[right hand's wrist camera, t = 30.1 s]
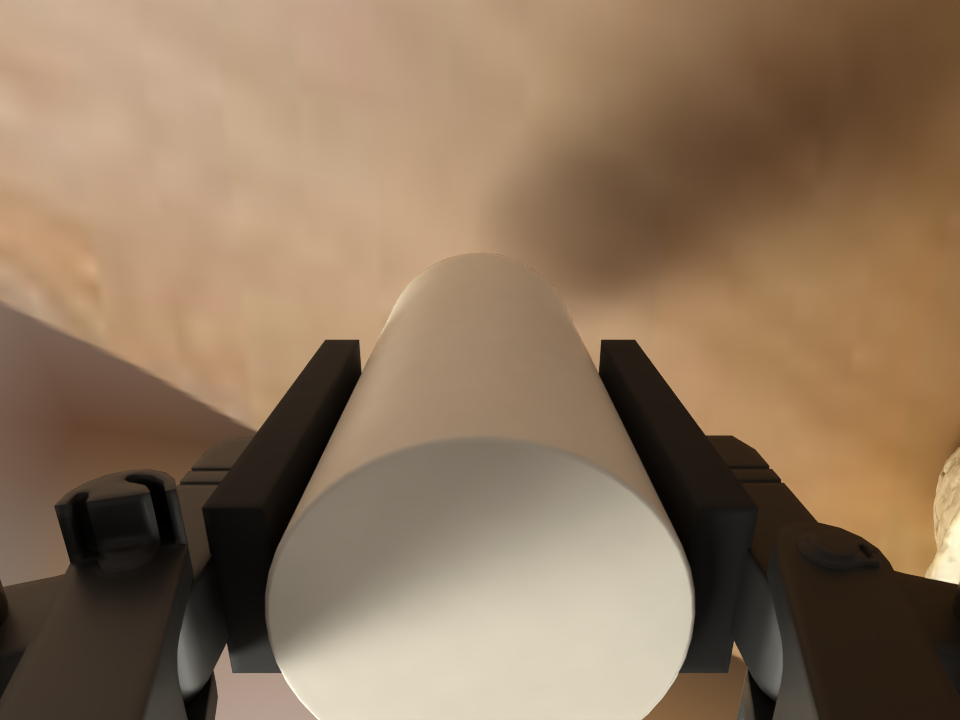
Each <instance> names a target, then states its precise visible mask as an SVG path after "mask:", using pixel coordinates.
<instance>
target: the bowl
mask: <svg viewBox="0 0 960 720" xmlns="http://www.w3.org/2000/svg"><path fill="white" fill-rule="evenodd" d="M933 511H934V514H933V518H934V528H935V531H934V534H935V538H936V543H937V553H936V555H935V558H934V560H933V562H932V563H931V564H930V566H929V568H928V569H927V571H926V574H925V578H929V579H934V580H939V581H944V582H949V583H954V584H959V582H960V447H959V448H958V449H957V450H956V451H955V452H954V453H953V454H952V455H951V456H950V457H949V459H948V460H947V461H946V463H945V465H944V469H943V470H942V471H941V473H940V476H939V481H938V484H937V489H936V497H935V501H934V507H933Z"/></svg>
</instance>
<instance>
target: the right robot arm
mask: <svg viewBox="0 0 960 720" xmlns="http://www.w3.org/2000/svg"><path fill="white" fill-rule="evenodd" d="M361 374H362V373H361V360H360V346H359V340H325V341H324V342H323V344H322V345H321V347H320V348H319V349H318V351H317V352H316V353H315V355H314V356H313V357H312V359H311V360H310V361H309V363H308V364H307V366H306V367H305V368H304V370H303V371H302V372H301V374H300V375H299V376H298V378H297V379H296V380H295V382H294V383H293V385H292V386H291V387H290V389H289V390H288V391H287V393H286V394H285V395H284V397H283V398H282V399H281V401H280V402H279V404H278V405H277V406H276V408H275V409H274V410H273V412H272V413H271V414H270V416H269V417H268V418H267V420H266V421H265V423H264V424H263V425H262V427H261V428H260V429H259V431H258V432H257V433H256V435H255V436H254V438H227V439H226V440H224V441H222V442H221V443H219V444H217V445H216V446H214V447H213V448H211V449H209V450H207V451H206V452H205V453H204V454H203V455H202V457H201V458H200V459H199V460H198V461H197V462H196V464H195V465H194V466H193V467H192V471H189V472H188V473H187V474H186V475H185V476H184V478H183V479H182V480H181V481H180V485H177V486H176V483H175V479H174V478H172V477H171V476H170V475H168V474H167V473H166V472H161V471H156V470H151V469H146V470H128V471H123V472H118V473H113V474H109V475H105V476H102V477H100V478H97V479H94V480H92V481H89V482H86V483H84V484H82V485H81V486H79V487H77V488H75V489H74V490H72V491H70V492H69V493H67V494H66V495H65V496H64V497H63V498H62V499H61V500H60V501H59V502H58V503H57V504H56V505H55V506H54V507H55V510H56V514H57V517H58V521H59V524H60V528H61V531H62V535H63V538H64V542H65V545H66V549H67V552H68V556H69V559H70V565H69V567H68V569H67V571H66V573H65V574H63V575H59V576H56V577H50V578H46V579H41V580H35V581H30V582H25V583H21V584H16V585H11V586H6V587H3V586H2V583H1V580H0V720H215V714H216V706H217V699H218V695H217V687H216V681H215V676H214V671H213V669H214V667H215V665H216V663H217V661H218V659H219V657H220V655H221V653H222V651H223V649H224V647H225V645H226V643H227V646H228V651H229V657H230V661H231V667H232V672H233V673H282V672H281V670H280V668H279V666H278V664H277V663H276V660H275V657H274V654H273V651H272V648H271V645H270V642H269V637H268V631H267V625H266V619H265V592H266V586H267V580H268V574H269V570H270V567H271V564H272V561H273V558H274V555H275V552H276V549H277V547H278V545H279V543H280V541H281V539H282V537H283V535H284V533H285V531H286V529H287V526H288V524H289V522H290V520H291V518H292V516H293V514H294V512H295V510H296V508H297V506H298V504H299V502H300V500H301V498H302V496H303V493H304V491H305V489H306V487H307V485H308V483H309V481H310V479H311V477H312V475H313V473H314V471H315V469H316V467H317V465H318V463H319V460H320V458H321V456H322V454H323V452H324V450H325V448H326V446H327V444H328V442H329V440H330V438H331V436H332V434H333V432H334V430H335V427H336V425H337V423H338V421H339V419H340V417H341V415H342V413H343V411H344V409H345V407H346V405H347V403H348V401H349V399H350V397H351V394H352V392H353V390H354V388H355V386H356V384H357V382H358V380H359V378H360V376H361ZM599 376H600V378H601V380H602V382H603V384H604V386H605V388H606V390H607V392H608V394H609V396H610V398H611V400H612V402H613V404H614V406H615V409H616V411H617V413H618V415H619V417H620V419H621V421H622V423H623V425H624V427H625V429H626V431H627V433H628V435H629V437H630V439H631V441H632V443H633V445H634V448H635V450H636V452H637V454H638V456H639V458H640V460H641V462H642V464H643V466H644V468H645V470H646V472H647V474H648V476H649V478H650V480H651V482H652V484H653V486H654V489H655V491H656V493H657V495H658V497H659V499H660V501H661V503H662V505H663V507H664V509H665V511H666V513H667V515H668V517H669V519H670V521H671V523H672V525H673V528H674V530H675V532H676V534H677V536H678V538H679V540H680V542H681V544H682V546H683V549H684V552H685V554H686V557H687V560H688V562H689V565H690V568H691V573H692V578H693V583H694V588H695V619H694V626H693V633H692V639H691V642H690V645H689V649H688V652H687V655H686V658H685V660H684V663H683V665H682V667H681V669H680V671H679V673H728V670H729V664H730V659H731V654H732V648H733V643H734V641H735V643H736V645H737V647H738V649H739V651H740V653H741V655H742V657H743V659H744V661H745V663H746V665H747V671H746V676H745V681H744V686H743V691H742V696H741V701H740V706H739V710H738V715H737V720H960V582H959V584H954V583H949V582H944V581H939V580H934V579H929V578H924V577H919V576H914V575H909V574H905V573H901V572H897V571H894V570H893V568H892V566H891V564H890V562H889V561H888V560H887V559H886V557H885V556H884V555H883V554H882V553H881V551H880V550H879V549H878V548H876V547H875V546H874V545H872V544H871V543H869V542H868V541H866V540H865V539H863V538H862V537H860V536H858V535H855V534H853V533H851V532H849V531H846V530H844V529H842V528H839V527H835V526H830V525H826V524H822V523H818V522H817V521H816V520H815V518H814V517H813V516H812V515H811V514H810V513H809V511H808V510H807V509H806V508H805V507H804V506H803V504H802V503H801V502H800V501H799V500H798V499H797V498H796V496H795V495H794V494H793V493H792V492H791V491H790V489H789V488H788V487H787V486H786V485H785V484H784V483H781V479H780V478H779V477H778V475H777V474H776V473H775V472H774V471H773V470H772V469H769V465H768V464H767V463H766V461H765V460H764V459H763V458H762V457H761V456H760V455H759V453H758V452H757V451H756V450H755V449H753V448H752V447H750V446H748V445H747V444H745V443H743V442H742V441H740V440H738V439H737V438H735V437H733V436H705V434H704V433H703V431H702V430H701V429H700V427H699V426H698V425H697V423H696V422H695V421H694V419H693V418H692V417H691V415H690V414H689V412H688V411H687V410H686V408H685V407H684V406H683V404H682V403H681V402H680V400H679V399H678V398H677V396H676V395H675V394H674V392H673V391H672V389H671V388H670V387H669V385H668V384H667V383H666V381H665V380H664V379H663V377H662V376H661V375H660V373H659V372H658V370H657V369H656V368H655V366H654V365H653V364H652V362H651V361H650V360H649V358H648V357H647V356H646V354H645V353H644V351H643V350H642V349H641V347H640V346H639V345H638V343H637V342H636V341H635V340H601V351H600V365H599Z"/></svg>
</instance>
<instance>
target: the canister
mask: <svg viewBox="0 0 960 720" xmlns="http://www.w3.org/2000/svg"><path fill="white" fill-rule="evenodd" d="M265 619H266V625H267V631H268V637H269V642H270V645H271V648H272V651H273V654H274V657H275V660H276V663H277V664H278V666H279V668H280V670H281V672H282V674H283V676H284V678H285V680H286V682H287V683H288V685H289V686H290V687H291V689H292V690H293V692H294V693H295V694H296V696H297V697H298V699H299V700H300V701H301V702H302V703H303V704H304V705H305V706H306V707H307V709H308V710H309V711H310V712H311V713H312V714H313V715H314V716H315V717H316V718H317V719H318V720H642V719H643V718H644V717H645V716H646V715H647V714H648V713H649V712H650V711H651V710H652V709H653V708H654V707H655V706H656V704H657V703H658V702H659V701H660V700H661V699H662V698H663V696H664V695H665V694H666V692H667V691H668V689H669V688H670V686H671V685H672V683H673V682H674V680H675V679H676V677H677V675H678V673H679V671H680V669H681V667H682V665H683V663H684V660H685V658H686V655H687V652H688V649H689V645H690V642H691V639H692V633H693V626H694V619H695V588H694V583H693V578H692V573H691V568H690V565H689V562H688V560H687V557H686V554H685V552H684V549H683V546H682V544H681V542H680V540H679V538H678V536H677V534H676V532H675V530H674V528H673V525H672V523H671V521H670V519H669V517H668V515H667V513H666V511H665V509H664V507H663V505H662V503H661V501H660V499H659V497H658V495H657V493H656V491H655V489H654V486H653V484H652V482H651V480H650V478H649V476H648V474H647V472H646V470H645V468H644V466H643V464H642V462H641V460H640V458H639V456H638V454H637V452H636V450H635V448H634V445H633V443H632V441H631V439H630V437H629V435H628V433H627V431H626V429H625V427H624V425H623V423H622V421H621V419H620V417H619V415H618V413H617V411H616V409H615V406H614V404H613V402H612V400H611V398H610V396H609V394H608V392H607V390H606V388H605V386H604V384H603V382H602V380H601V378H600V376H599V374H598V372H597V370H596V367H595V365H594V363H593V361H592V359H591V357H590V355H589V353H588V351H587V349H586V347H585V345H584V343H583V341H582V339H581V337H580V335H579V333H578V331H577V328H576V326H575V324H574V322H573V320H572V318H571V316H570V314H569V312H568V310H567V308H566V306H565V304H564V302H563V300H562V299H561V297H560V295H559V294H558V292H557V291H556V290H555V288H554V287H553V286H552V285H551V284H550V283H549V282H548V281H547V280H546V279H545V278H544V277H543V276H542V275H541V274H540V273H538V272H537V271H536V270H534V269H533V268H531V267H529V266H528V265H526V264H524V263H522V262H520V261H517V260H515V259H512V258H509V257H506V256H502V255H497V254H489V253H470V254H463V255H458V256H454V257H451V258H447V259H445V260H443V261H440V262H438V263H436V264H434V265H432V266H431V267H429V268H427V269H426V270H424V271H423V272H422V273H420V274H419V275H418V276H417V277H415V278H414V279H413V280H412V281H411V283H410V284H409V285H408V286H407V287H406V288H405V290H404V291H403V292H402V294H401V295H400V296H399V298H398V300H397V302H396V304H395V306H394V308H393V310H392V312H391V314H390V316H389V318H388V320H387V322H386V324H385V326H384V329H383V331H382V333H381V335H380V337H379V339H378V341H377V343H376V345H375V347H374V349H373V351H372V353H371V355H370V357H369V359H368V362H367V364H366V366H365V368H364V370H363V372H362V374H361V376H360V378H359V380H358V382H357V384H356V386H355V388H354V390H353V392H352V394H351V397H350V399H349V401H348V403H347V405H346V407H345V409H344V411H343V413H342V415H341V417H340V419H339V421H338V423H337V425H336V427H335V430H334V432H333V434H332V436H331V438H330V440H329V442H328V444H327V446H326V448H325V450H324V452H323V454H322V456H321V458H320V460H319V463H318V465H317V467H316V469H315V471H314V473H313V475H312V477H311V479H310V481H309V483H308V485H307V487H306V489H305V491H304V493H303V496H302V498H301V500H300V502H299V504H298V506H297V508H296V510H295V512H294V514H293V516H292V518H291V520H290V522H289V524H288V526H287V529H286V531H285V533H284V535H283V537H282V539H281V541H280V543H279V545H278V547H277V549H276V552H275V555H274V558H273V561H272V564H271V567H270V570H269V574H268V580H267V586H266V592H265Z"/></svg>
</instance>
